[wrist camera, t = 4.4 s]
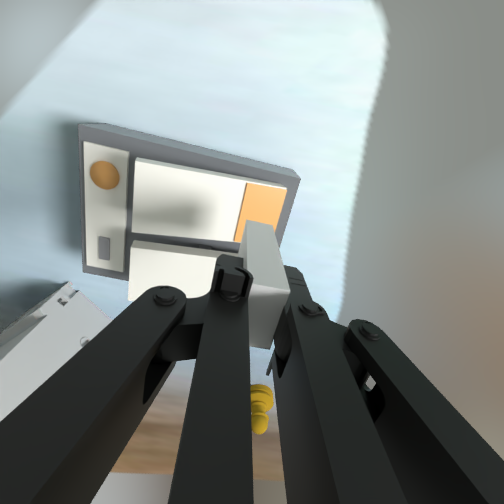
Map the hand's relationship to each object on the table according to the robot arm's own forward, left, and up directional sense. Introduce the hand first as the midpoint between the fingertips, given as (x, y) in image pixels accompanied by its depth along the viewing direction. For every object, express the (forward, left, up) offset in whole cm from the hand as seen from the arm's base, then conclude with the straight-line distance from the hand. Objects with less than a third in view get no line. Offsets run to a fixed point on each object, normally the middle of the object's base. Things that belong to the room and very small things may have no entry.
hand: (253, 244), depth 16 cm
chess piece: (+7, -26, -11) cm, 29 cm away
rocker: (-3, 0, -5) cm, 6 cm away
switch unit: (-5, -3, -11) cm, 12 cm away
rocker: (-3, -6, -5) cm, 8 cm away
